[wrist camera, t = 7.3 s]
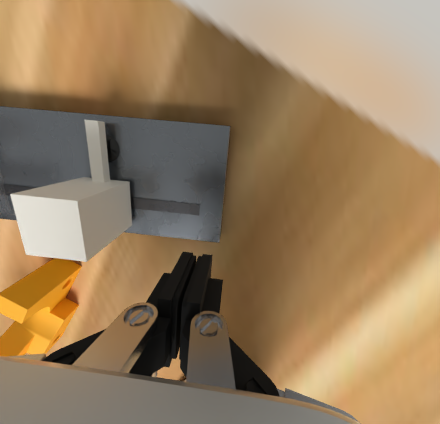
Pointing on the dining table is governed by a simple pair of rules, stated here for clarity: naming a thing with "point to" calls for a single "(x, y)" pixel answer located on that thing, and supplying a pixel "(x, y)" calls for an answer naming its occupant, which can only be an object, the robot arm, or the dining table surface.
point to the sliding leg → (75, 209)
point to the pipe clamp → (38, 308)
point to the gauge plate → (123, 166)
